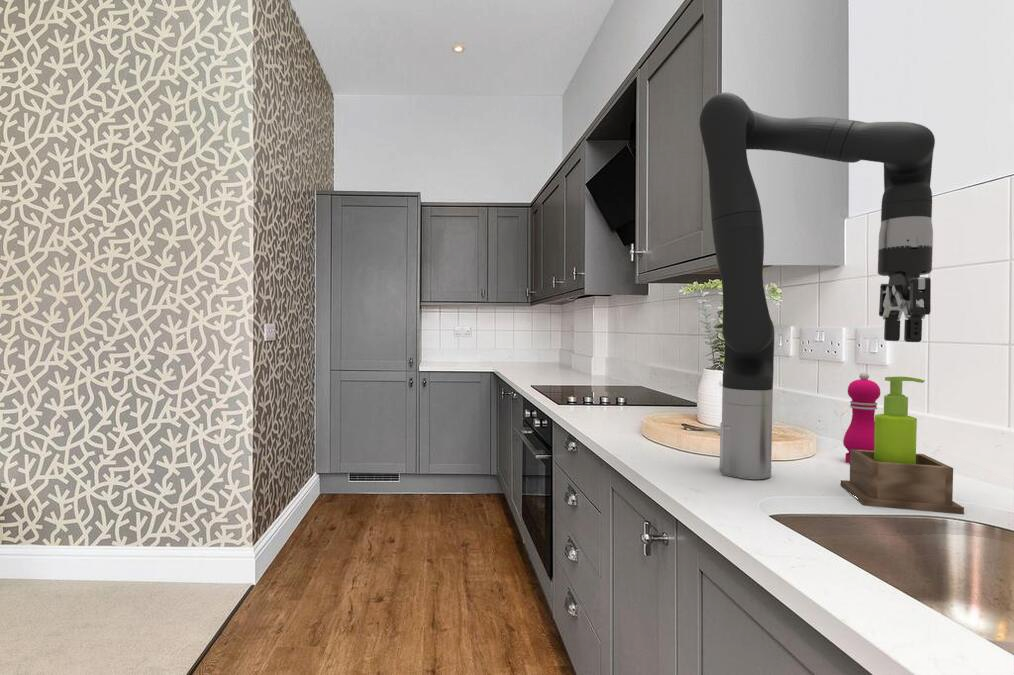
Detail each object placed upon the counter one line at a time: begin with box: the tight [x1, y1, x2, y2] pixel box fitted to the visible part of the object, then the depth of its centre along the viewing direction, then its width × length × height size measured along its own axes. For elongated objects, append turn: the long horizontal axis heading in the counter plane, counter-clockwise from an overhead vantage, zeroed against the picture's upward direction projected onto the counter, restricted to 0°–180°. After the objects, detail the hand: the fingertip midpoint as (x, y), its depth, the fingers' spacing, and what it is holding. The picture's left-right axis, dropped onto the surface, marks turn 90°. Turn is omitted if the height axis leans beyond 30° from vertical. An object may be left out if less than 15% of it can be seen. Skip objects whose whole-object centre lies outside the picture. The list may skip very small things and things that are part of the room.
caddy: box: [840, 449, 965, 515], centre depth 94 cm, size 14×12×7 cm
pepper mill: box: [842, 371, 881, 465], centre depth 119 cm, size 7×7×20 cm
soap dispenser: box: [874, 376, 926, 464], centre depth 94 cm, size 6×7×20 cm
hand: (901, 341), depth 94 cm, fingers open, 8 cm apart
